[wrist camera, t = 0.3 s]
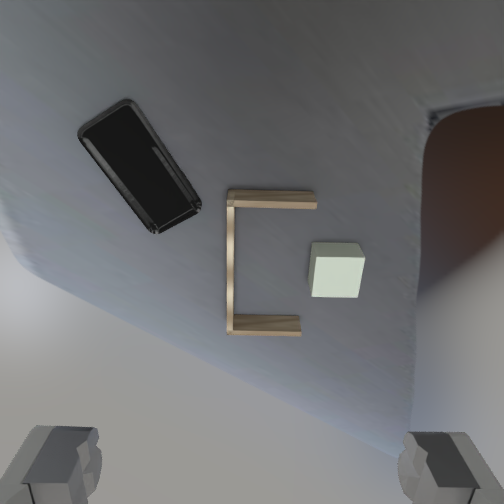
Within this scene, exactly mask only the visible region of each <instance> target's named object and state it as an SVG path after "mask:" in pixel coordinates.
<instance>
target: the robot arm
mask: <svg viewBox="0 0 504 504" xmlns="http://www.w3.org/2000/svg"><path fill="white" fill-rule="evenodd" d="M98 439H99V435H98V430H97V428H94V427H70V426H38V425H37V426H36V427H34V428H33V429H32V430H31V431H30V432H29V434H28V436H27V437H26V439H25V441H24V442H23V444H22V445H21V447H20V449H19V450H18V452H17V454H16V455H15V457H14V458H13V460H12V462H11V463H10V465H9V467H8V468H7V470H6V471H5V473H4V475H3V476H2V478H1V479H0V504H88V500H87V497H88V496H89V495H90V494H92V493H93V492H94V491H95V489H96V487H97V484H98V481H99V478H100V472H101V467H102V455H101V450H100V449H99V448H98V447H97V446H96V444H97V442H98ZM403 444H404V446H405V448H406V449H405V450H404V451H403V452H402V453H401V454H400V455H399V459H398V476H399V480H400V484H401V487H402V489H403V492H404V494H405V495H406V496H407V497H408V498H410V499H411V500H412V501H413V504H504V489H503V488H502V487H501V485H500V483H499V482H498V480H497V479H496V477H495V476H494V474H493V473H492V471H491V470H490V468H489V466H488V465H487V464H486V462H485V460H484V459H483V457H482V456H481V454H480V453H479V451H478V450H477V448H476V446H475V445H474V444H473V442H472V440H471V439H470V437H469V436H468V435H467V434H466V433H465V432H407V433H406V434H405V436H404V440H403Z"/></svg>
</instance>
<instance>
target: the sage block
mask: <svg viewBox="0 0 504 504" xmlns="http://www.w3.org/2000/svg"><path fill="white" fill-rule="evenodd" d="M364 261H365V257H364V255H363V253H362V251H361V249H360V247H359V245H358V243H324V242H312V248H311V257H310V266H309V275H308V283H309V288H310V292H311V296H312V297H358V293H359V287H360V282H361V277H362V272H363V266H364Z"/></svg>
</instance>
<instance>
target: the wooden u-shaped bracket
mask: <svg viewBox="0 0 504 504" xmlns="http://www.w3.org/2000/svg"><path fill="white" fill-rule="evenodd" d="M235 207H258V208H295V209H316V208H317V201H316V199H315V196H314V193H313V192H309V191H273V190H237V189H228V196H227V335H261V336H301V326H300V321H299V316H283V315H235V314H234V231H235Z"/></svg>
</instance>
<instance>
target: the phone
mask: <svg viewBox="0 0 504 504" xmlns="http://www.w3.org/2000/svg"><path fill="white" fill-rule="evenodd" d="M77 136H78V139H79V141H80V142H81V144H82V145H83V146H84V148H85V149H86V150H87V151H88V153H89V154H90V155H91V157H92V158H93V159H94V161H95V162H96V163H97V164H98V166H99V167H100V168H101V170H102V171H103V172H104V174H105V175H106V176H107V177H108V179H109V180H110V181H111V183H112V184H113V185H114V187H115V188H116V189H117V190H118V192H119V193H120V194H121V196H122V197H123V198H124V200H125V201H126V202H127V203H128V205H129V206H130V207H131V209H132V210H133V211H134V213H135V214H136V215H137V216H138V218H139V219H140V220H141V222H142V223H143V224H144V226H145V227H146V228H147V229H148V230H149V231H150V232H151V233H153V234H160V233H162V232H164V231H166V230H168V229H169V228H171V227H173V226H175V225H177V224H179V223H181V222H183V221H184V220H186V219H188V218H190V217H192V216H194V215H196V214H197V213H199V211H200V210H201V206H202V202H201V200H200V198H199V197H198V195H197V193H196V192H195V190H194V189H193V188H192V186H191V184H190V183H189V181H188V180H187V179H186V177H185V175H184V174H183V172H182V171H181V170H180V168H179V167H178V165H177V164H176V162H175V161H174V159H173V158H172V156H171V155H170V153H169V152H168V150H167V149H166V147H165V146H164V144H163V143H162V141H161V140H160V138H159V137H158V135H157V134H156V132H155V131H154V129H153V128H152V126H151V125H150V123H149V122H148V120H147V119H146V117H145V116H144V114H143V113H142V111H141V110H140V108H139V107H138V105H137V104H136V103H135V102H134V101H132V100H129V99H126V100H123V101H121V102H119V103H118V104H116V105H115V106H113V107H111V108H110V109H108V110H107V111H105V112H104V113H102V114H101V115H99V116H98V117H96V118H95V119H93V120H92V121H90V122H88V123H87V124H85V125H84V126H82V127H81V128H80V129H79V130H78V134H77Z"/></svg>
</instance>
